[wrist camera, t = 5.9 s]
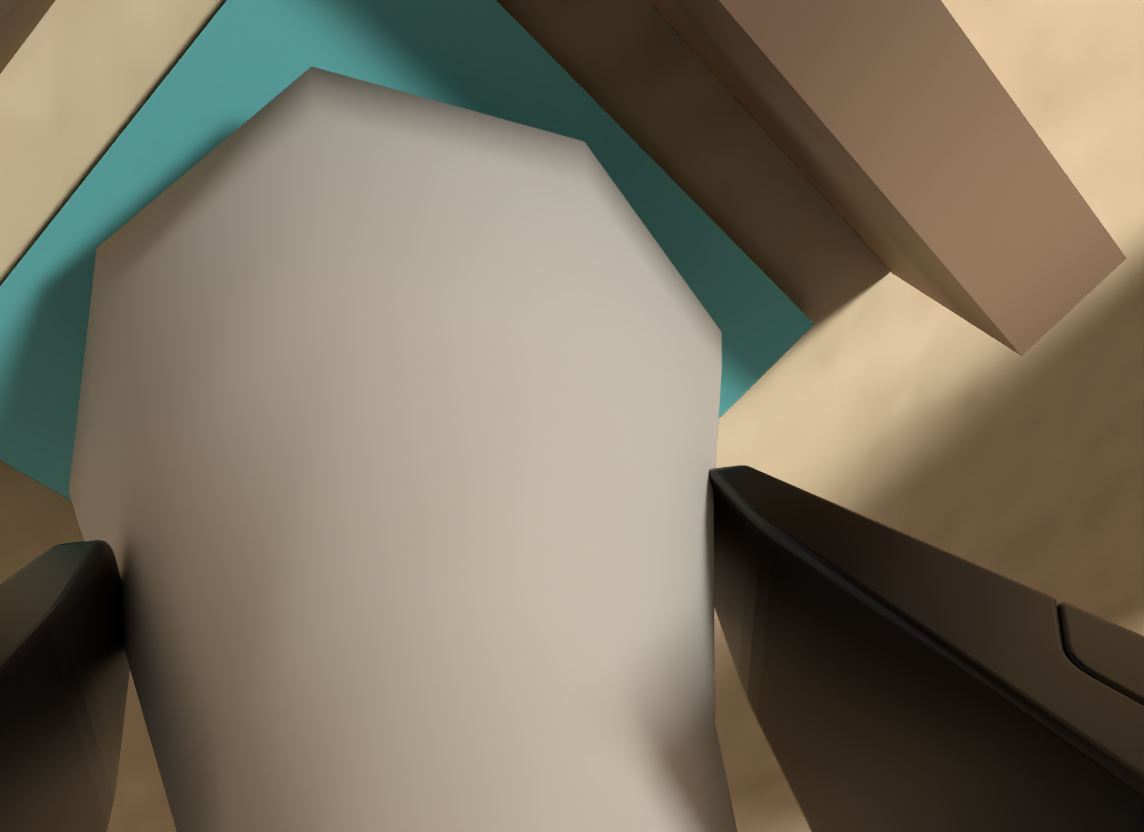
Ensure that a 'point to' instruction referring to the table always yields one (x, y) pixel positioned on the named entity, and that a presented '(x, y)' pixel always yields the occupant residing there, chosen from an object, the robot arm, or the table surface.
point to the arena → (890, 147)
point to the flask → (407, 480)
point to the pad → (377, 55)
